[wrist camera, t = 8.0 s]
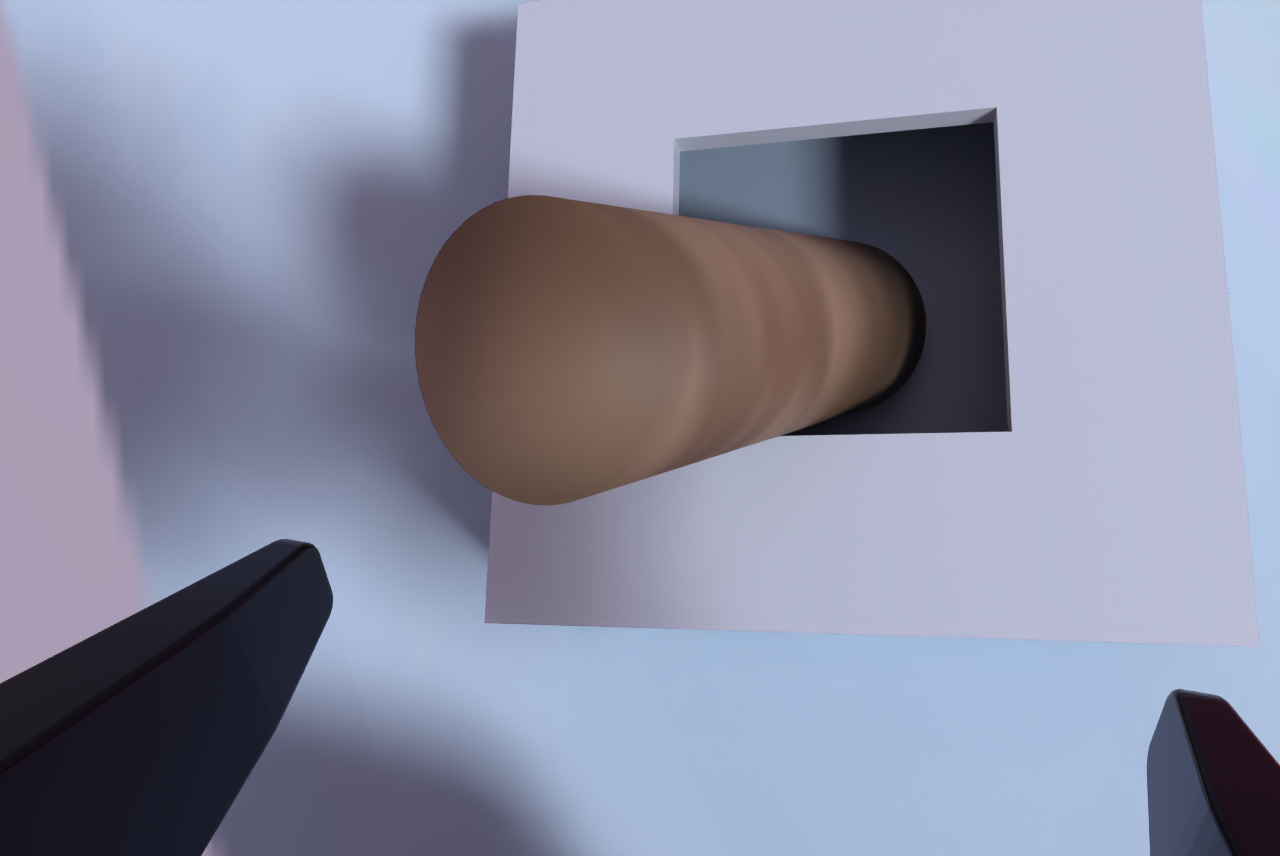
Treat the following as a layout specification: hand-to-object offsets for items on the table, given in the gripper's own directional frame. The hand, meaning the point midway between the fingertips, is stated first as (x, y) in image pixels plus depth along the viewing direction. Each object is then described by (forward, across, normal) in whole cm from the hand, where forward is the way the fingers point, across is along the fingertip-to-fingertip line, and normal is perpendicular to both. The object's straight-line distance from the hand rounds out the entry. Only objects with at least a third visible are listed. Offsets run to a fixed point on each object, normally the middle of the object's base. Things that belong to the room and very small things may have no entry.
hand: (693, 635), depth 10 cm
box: (+14, 0, +4) cm, 15 cm away
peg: (+14, 0, +4) cm, 14 cm away
